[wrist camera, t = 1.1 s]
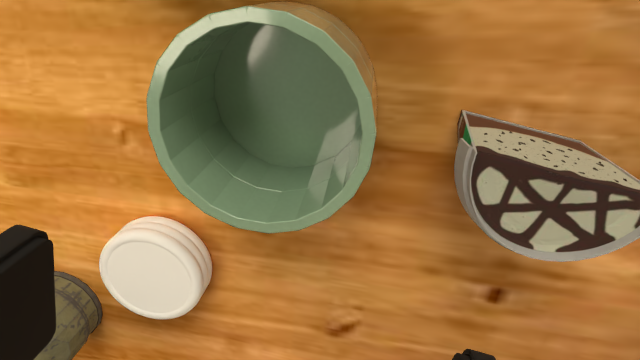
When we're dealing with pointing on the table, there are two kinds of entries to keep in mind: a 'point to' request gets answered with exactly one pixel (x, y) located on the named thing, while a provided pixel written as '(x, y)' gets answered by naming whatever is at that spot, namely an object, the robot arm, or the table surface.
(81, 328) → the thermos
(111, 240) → the coaster
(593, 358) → the table surface
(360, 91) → the pot
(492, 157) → the food container
